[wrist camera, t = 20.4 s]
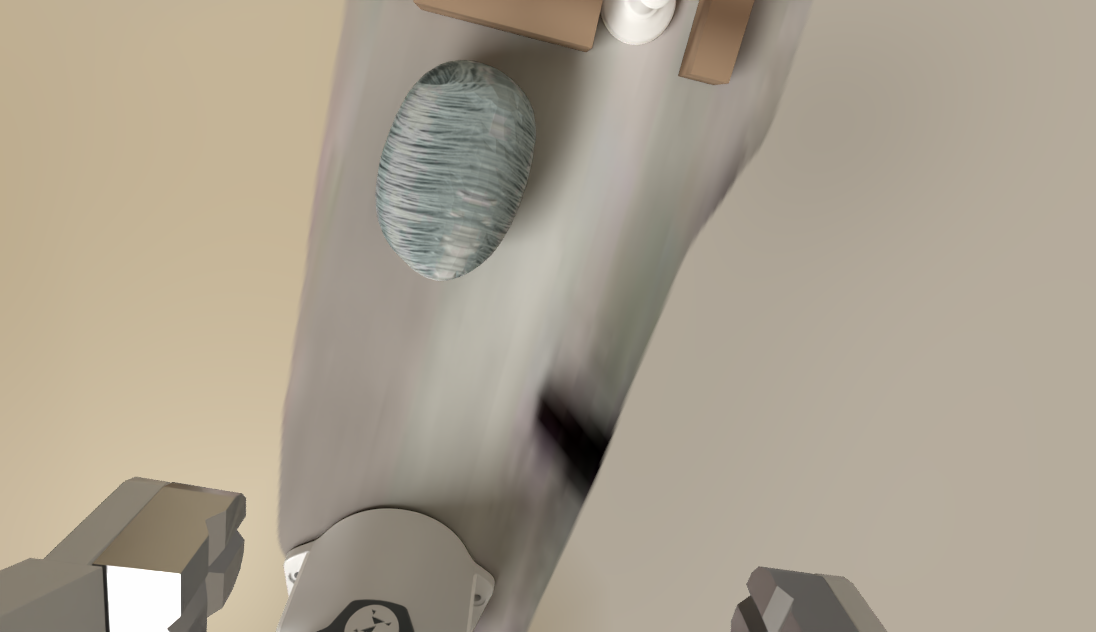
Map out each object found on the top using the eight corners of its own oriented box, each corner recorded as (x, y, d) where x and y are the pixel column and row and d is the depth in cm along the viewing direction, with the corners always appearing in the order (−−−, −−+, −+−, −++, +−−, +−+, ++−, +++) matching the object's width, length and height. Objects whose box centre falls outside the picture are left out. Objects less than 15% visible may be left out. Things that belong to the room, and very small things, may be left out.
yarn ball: (403, 9, 33) (445, 77, 27) (536, 68, 39) (597, 137, 32) (339, 201, 40) (360, 292, 34) (460, 229, 46) (497, 311, 39)
